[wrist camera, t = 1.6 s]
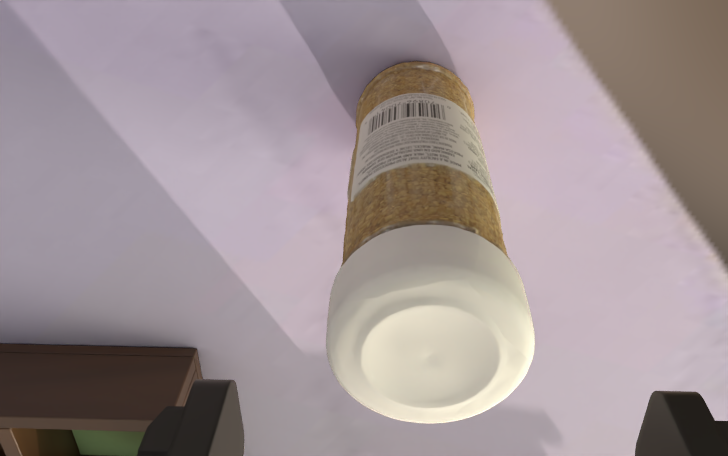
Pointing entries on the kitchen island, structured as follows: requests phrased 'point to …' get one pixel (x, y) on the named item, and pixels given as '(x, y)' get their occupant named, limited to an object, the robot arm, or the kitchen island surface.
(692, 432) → the robot arm
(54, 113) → the kitchen island surface
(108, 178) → the kitchen island surface
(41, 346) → the wooden compartment tray
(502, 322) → the sprinkles bottle
